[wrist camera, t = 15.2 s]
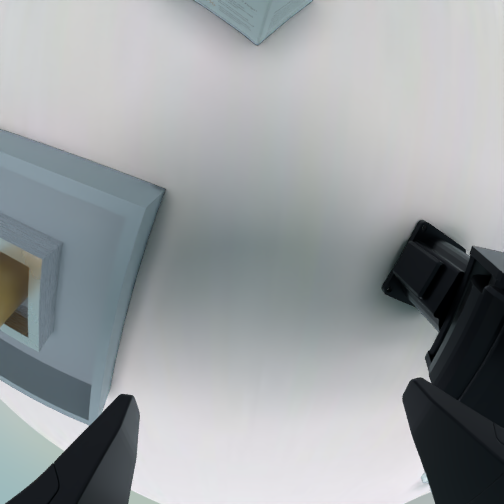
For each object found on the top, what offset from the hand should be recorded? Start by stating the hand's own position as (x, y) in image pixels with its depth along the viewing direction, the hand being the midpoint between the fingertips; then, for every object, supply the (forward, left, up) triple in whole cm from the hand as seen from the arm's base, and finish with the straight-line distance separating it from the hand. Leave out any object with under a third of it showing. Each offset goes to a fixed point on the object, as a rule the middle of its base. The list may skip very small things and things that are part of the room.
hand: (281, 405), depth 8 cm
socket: (+17, +8, -13) cm, 23 cm away
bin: (+17, +8, -13) cm, 23 cm away
